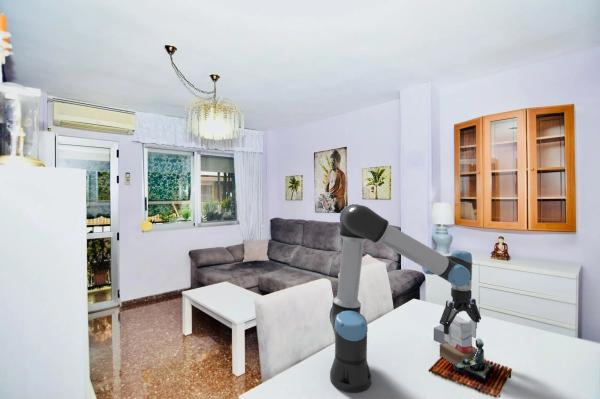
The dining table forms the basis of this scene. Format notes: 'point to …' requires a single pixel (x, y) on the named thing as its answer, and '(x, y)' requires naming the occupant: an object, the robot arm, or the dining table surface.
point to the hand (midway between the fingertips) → (460, 339)
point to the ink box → (461, 335)
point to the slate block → (439, 334)
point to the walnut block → (455, 353)
